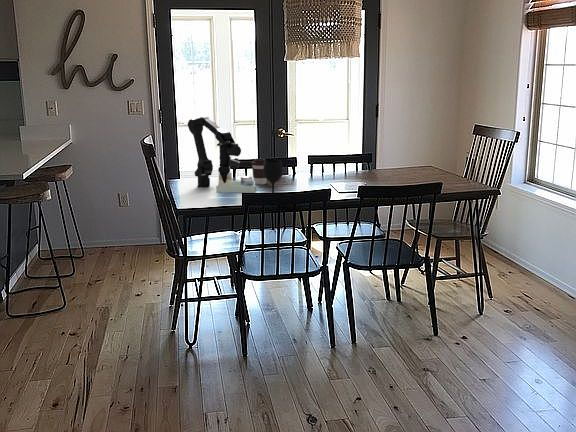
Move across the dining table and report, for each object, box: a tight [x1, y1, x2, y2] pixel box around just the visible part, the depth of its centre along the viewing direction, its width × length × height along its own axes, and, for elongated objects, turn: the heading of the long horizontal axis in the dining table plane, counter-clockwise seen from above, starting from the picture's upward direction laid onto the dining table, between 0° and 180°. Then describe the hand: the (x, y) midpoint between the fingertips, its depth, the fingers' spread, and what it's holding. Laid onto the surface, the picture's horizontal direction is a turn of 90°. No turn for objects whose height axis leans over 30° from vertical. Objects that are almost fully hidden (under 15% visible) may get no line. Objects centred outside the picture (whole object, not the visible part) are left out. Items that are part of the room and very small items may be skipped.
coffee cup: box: [250, 158, 267, 185], centre depth 368 cm, size 10×10×15 cm
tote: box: [215, 180, 256, 193], centre depth 350 cm, size 21×15×4 cm
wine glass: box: [263, 159, 284, 194], centre depth 329 cm, size 10×10×20 cm
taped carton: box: [218, 171, 233, 186], centre depth 349 cm, size 7×5×7 cm
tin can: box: [240, 175, 254, 186], centre depth 350 cm, size 7×7×7 cm
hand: (225, 182), depth 349 cm, fingers closed on taped carton, 5 cm apart
